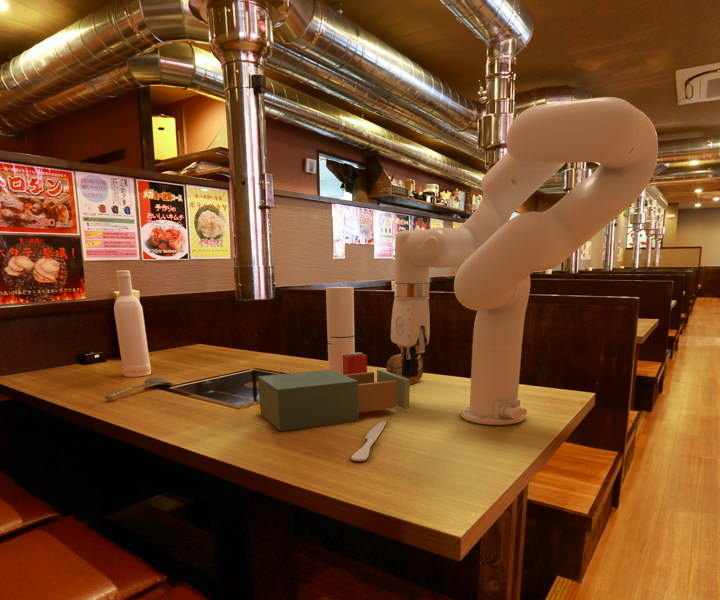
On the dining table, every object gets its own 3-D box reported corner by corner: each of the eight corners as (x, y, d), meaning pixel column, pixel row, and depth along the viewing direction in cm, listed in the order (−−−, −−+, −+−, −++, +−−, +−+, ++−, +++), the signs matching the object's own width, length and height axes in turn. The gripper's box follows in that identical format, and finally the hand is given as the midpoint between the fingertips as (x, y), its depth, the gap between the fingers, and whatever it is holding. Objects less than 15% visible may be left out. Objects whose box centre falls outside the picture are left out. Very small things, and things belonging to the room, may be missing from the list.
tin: (394, 390, 141) (394, 357, 139) (383, 388, 143) (383, 356, 141) (424, 380, 153) (425, 349, 150) (414, 379, 155) (415, 348, 152)
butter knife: (347, 458, 90) (365, 459, 90) (377, 420, 113) (391, 420, 112) (347, 461, 91) (365, 462, 90) (377, 422, 113) (391, 422, 112)
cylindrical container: (345, 386, 147) (343, 288, 139) (323, 383, 150) (320, 287, 142) (360, 381, 152) (358, 286, 144) (338, 379, 156) (336, 286, 148)
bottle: (145, 377, 164) (130, 270, 155) (119, 377, 164) (102, 270, 155) (155, 372, 172) (141, 270, 162) (130, 372, 172) (115, 270, 162)
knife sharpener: (367, 393, 138) (367, 353, 135) (349, 396, 136) (348, 355, 133) (361, 391, 141) (361, 351, 138) (343, 393, 139) (342, 353, 136)
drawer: (386, 395, 132) (386, 368, 130) (414, 408, 120) (414, 378, 118) (319, 403, 125) (318, 375, 123) (342, 417, 113) (341, 386, 111)
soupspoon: (178, 387, 153) (159, 386, 155) (176, 374, 152) (157, 374, 154) (118, 402, 133) (97, 401, 135) (115, 388, 132) (94, 387, 135)
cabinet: (332, 405, 127) (331, 369, 125) (358, 420, 114) (358, 380, 112) (260, 414, 121) (257, 376, 118) (279, 431, 108) (277, 389, 105)
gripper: (381, 290, 124) (380, 371, 130) (413, 294, 111) (410, 384, 117) (410, 289, 127) (408, 369, 133) (445, 293, 114) (441, 381, 120)
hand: (409, 376), depth 125 cm, fingers closed
